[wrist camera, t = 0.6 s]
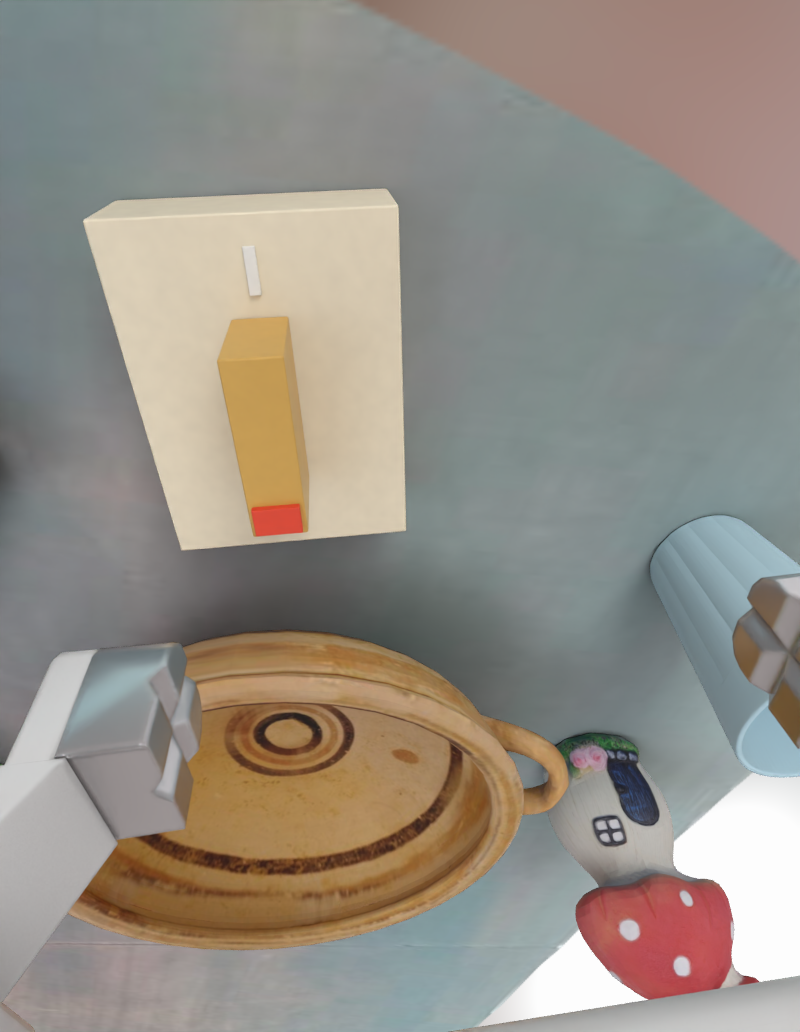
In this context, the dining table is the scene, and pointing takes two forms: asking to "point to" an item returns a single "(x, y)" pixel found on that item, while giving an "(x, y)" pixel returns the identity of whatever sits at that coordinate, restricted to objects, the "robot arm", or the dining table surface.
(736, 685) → the cup
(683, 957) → the decorative ornament
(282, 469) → the lock knob
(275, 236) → the plate
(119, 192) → the dining table surface
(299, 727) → the ceramic bowl
